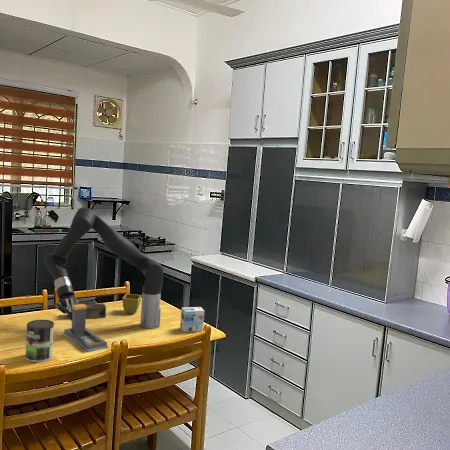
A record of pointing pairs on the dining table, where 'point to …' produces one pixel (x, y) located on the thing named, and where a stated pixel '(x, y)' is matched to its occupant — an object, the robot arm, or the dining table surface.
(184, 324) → the light bulb box
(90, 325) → the dining table surface
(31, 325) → the coffee can
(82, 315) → the fader tab
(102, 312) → the beverage carton
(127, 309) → the flower pot
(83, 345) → the fader console
